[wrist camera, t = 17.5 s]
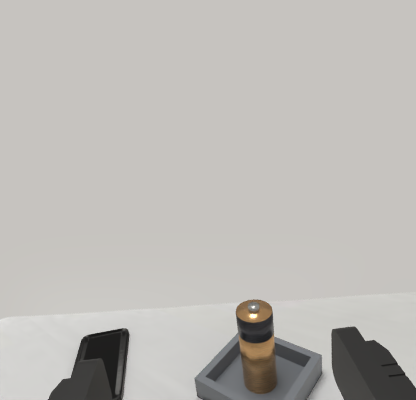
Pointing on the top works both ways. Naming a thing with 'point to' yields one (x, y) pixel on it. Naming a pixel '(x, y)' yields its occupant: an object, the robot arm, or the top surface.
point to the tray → (285, 365)
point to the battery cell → (257, 345)
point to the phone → (108, 356)
